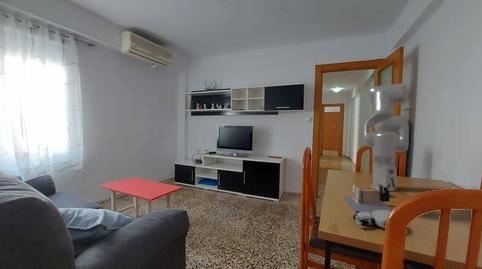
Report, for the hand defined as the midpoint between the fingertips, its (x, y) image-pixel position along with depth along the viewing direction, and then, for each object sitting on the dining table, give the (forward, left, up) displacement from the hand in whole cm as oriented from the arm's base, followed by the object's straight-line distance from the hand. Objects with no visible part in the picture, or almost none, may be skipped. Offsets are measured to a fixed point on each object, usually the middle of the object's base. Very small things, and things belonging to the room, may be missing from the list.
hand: (384, 200), depth 92 cm
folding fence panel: (-5, -3, -3) cm, 6 cm away
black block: (-19, +8, -4) cm, 21 cm away
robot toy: (+17, -11, -4) cm, 20 cm away
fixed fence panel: (-8, -9, -4) cm, 12 cm away
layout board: (-3, -6, -4) cm, 7 cm away
